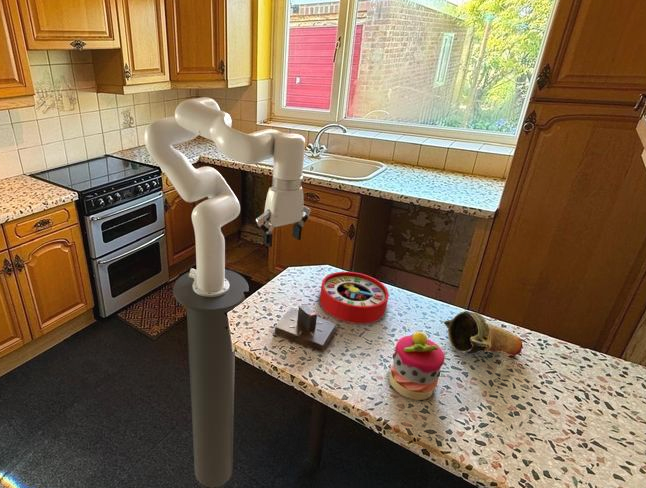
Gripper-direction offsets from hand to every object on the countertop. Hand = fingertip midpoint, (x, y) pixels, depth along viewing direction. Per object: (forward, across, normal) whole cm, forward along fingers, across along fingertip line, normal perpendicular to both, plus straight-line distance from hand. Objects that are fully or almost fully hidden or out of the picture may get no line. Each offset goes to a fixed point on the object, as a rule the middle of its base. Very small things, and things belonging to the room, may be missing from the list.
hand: (282, 241), depth 111 cm
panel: (+24, -2, +12) cm, 27 cm away
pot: (+24, -38, +38) cm, 59 cm away
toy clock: (+24, -24, +7) cm, 35 cm away
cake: (+24, -13, +39) cm, 48 cm away
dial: (+22, -2, +12) cm, 25 cm away
